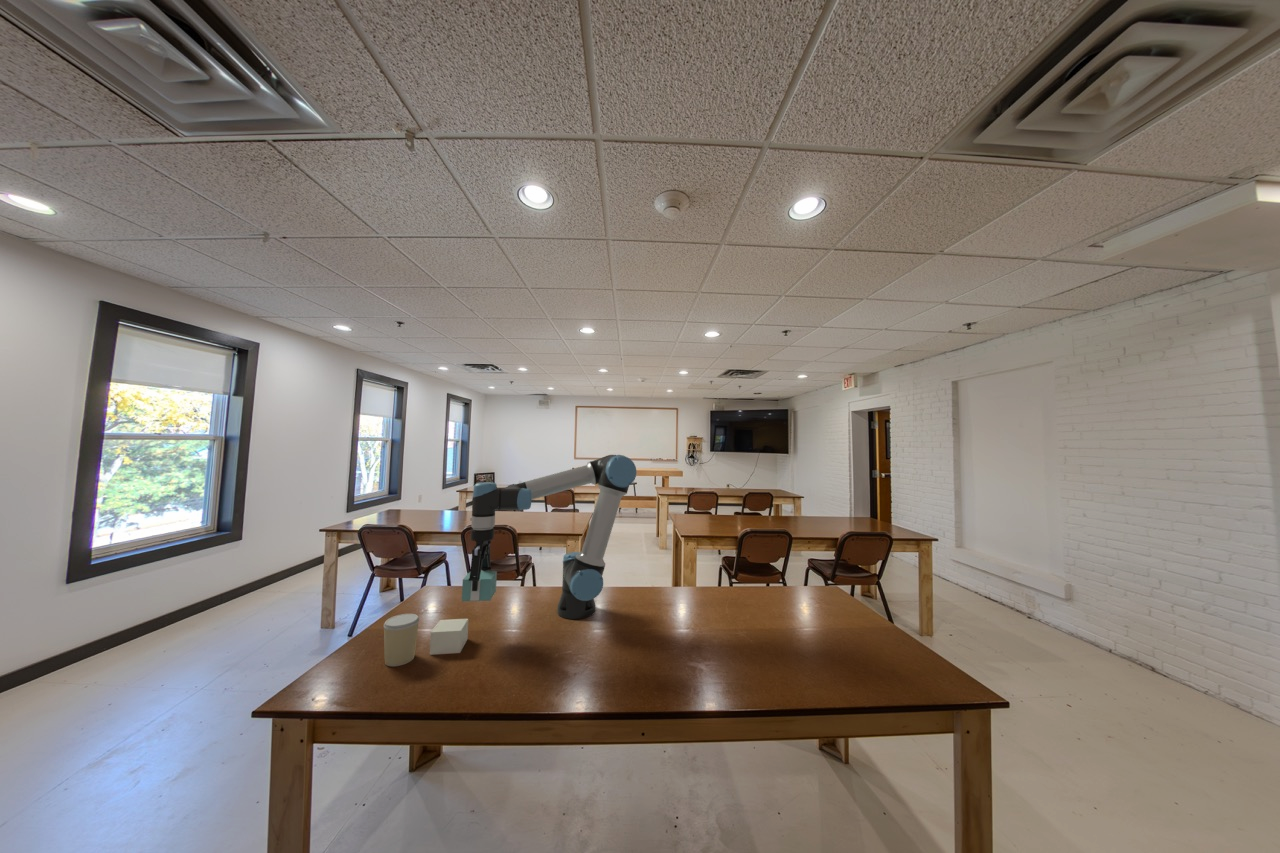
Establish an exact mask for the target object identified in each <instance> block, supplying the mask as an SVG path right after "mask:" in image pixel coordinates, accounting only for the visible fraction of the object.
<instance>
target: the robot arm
mask: <svg viewBox="0 0 1280 853" xmlns="http://www.w3.org/2000/svg"><path fill="white" fill-rule="evenodd" d="M636 477H637V466H636V464H635V462H634V461H633V460H632V459H631V458H629V457H628V456H625V455H621V454H609V455H605V456H603V457H600V458H598V459H594V460H591V461H587V464H586V465H582V466H578V467H574V468H571V469H567V470H564V471H563V470H562V471H560V472H556V473H554V474H553V473H552V474H549V475H545V476H542V477H538V478H534V479H530V480H527V481H523V482H520V483H512V484H509V485H508V486H506V487H505V488H498V487H497V486H498V485H497V483H496V482H484V481H483V482H477V483H475V484H474V485H473V489H472V490H473V492H472V504H471V508H472V509H471V518H470V519H469V520H470V522H471V524H470V525H471V529H470V540H471V541H473V542H476V543H475V545H474V548H472V550H471V551H472V552H471V562H470V570H469V572H470V578H469V581H471V597H470V601H469V602H480V601H479V600H480V581H481V580H480V573H481V571H492V566H491V543H492V541H493V539H494V538H495V528H494V527H496V526H495V524H496V511H527V510H529V509H531V508H532V507H531V505H532V500H535V499H539V498H543V497H546V496H550V495H553V494H557V493H561V492H563V491H568V490H571V489H575V488H578V487H583V486H585V485H586V486H587V485H590V484H592V485H597V486H598V488H599V494H598V497H597V500H596V504H595V506H594V510H593V513H592V516H591V519H590V523H589V526H588V529H587V532H586V536H585V538H584V542H583V545H582V548H581V551H575V552H568V553H565V554H564V555H563V560H562V591H561V595H560V597H559V599H558V600H559V601H558V604H557V607H556V611H557V612H556V614H557V615H558V616H559V617H561V618H564V619H569V620H579V619H585V618H588V616H589V617H590V615H591V616H592V614H593V613H594V612H596V602H595V598H597V597H598V596H599V595H600V593H601V592H602V591H603V588H604V578H603V574H604V571H605V567H606V562H605V561H604V557H605V554H606V550H607V547H608V543H609V540H610V537H611V534H612V530H613V528H614V523H615V521H616V517H617V513H618V510H619V507H620V504H621V500H622V497H624V496H625V495H627V494H628V491H629V487H630V486H631V485H632V484H633V482H634V481H635V480H636ZM474 576H476V577H474ZM594 614H595V613H594ZM594 614H593V615H594Z"/></svg>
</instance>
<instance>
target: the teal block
mask: <svg viewBox="0 0 1280 853" xmlns="http://www.w3.org/2000/svg"><path fill="white" fill-rule="evenodd" d="M497 576H498V570H487V571H482V570H481V573H480V580H481V581H480V600H479V601H478V602H487V601H488V602H489V601H491V600H492V598H493V597H494V596H495V593H496V592H497V579H498V578H497ZM474 577H476V576H474ZM469 578H470V571H469V572H468V573H467V574H466V575H465V576H464V578H463V579H462V586H461V602H471V601H470V597H471V581H469Z"/></svg>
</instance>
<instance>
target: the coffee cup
mask: <svg viewBox="0 0 1280 853" xmlns="http://www.w3.org/2000/svg"><path fill="white" fill-rule="evenodd" d="M419 622H420V617H419V616H418V615H417V614H415V613H402V614H397V615H394V616H391V617H389V618H388V619H386V620H385V622H384V623H383V632H384V633H383V636H384V637H383V641H384V643H383V644H384V648H383V649H384V663H385V666H388V667H399V666H403V665H406V664H408V663H410V662H412V661H413V660H414V658H415V653H416V649H417V648H416V647H417V638H418V629H419Z"/></svg>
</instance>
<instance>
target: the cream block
mask: <svg viewBox="0 0 1280 853" xmlns="http://www.w3.org/2000/svg"><path fill="white" fill-rule="evenodd" d="M468 632H469V618H455V619H454V618H452V619H439V621H438V622H437V624H436V625H435V626H434V627H433V628H432V630H431V631H430V638H429V639H430V640H429V655H430V656H431V655H433V656H434V655H446V654H447V655H449V654H460V653H461V652H462V651H463V649H464V646H465V644H466V643H467V641H468V637H469V636H468Z"/></svg>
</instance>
